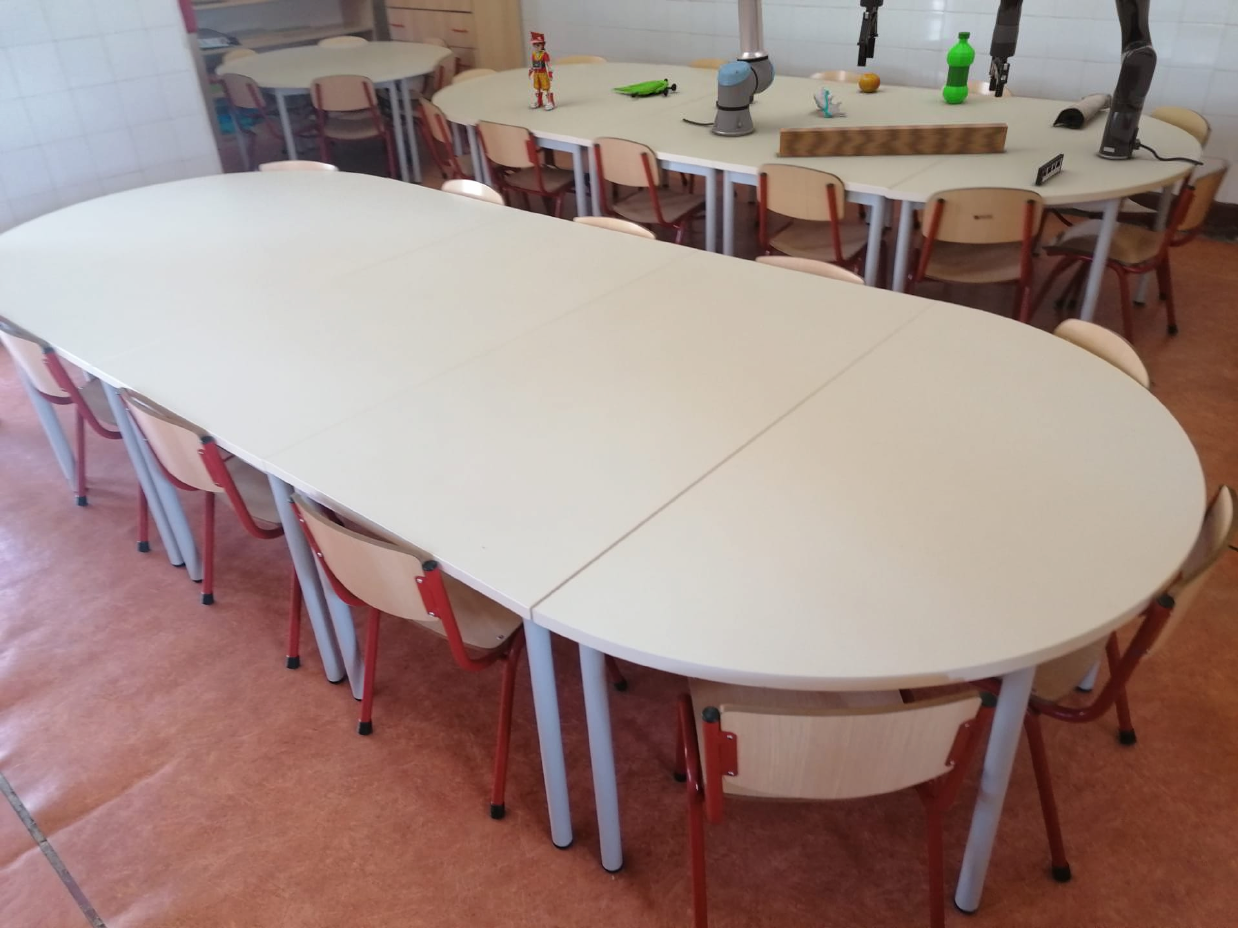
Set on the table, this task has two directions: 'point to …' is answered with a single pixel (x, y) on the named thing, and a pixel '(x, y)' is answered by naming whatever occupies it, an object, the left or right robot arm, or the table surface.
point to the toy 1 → (541, 71)
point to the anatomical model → (827, 103)
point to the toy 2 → (648, 88)
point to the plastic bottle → (958, 69)
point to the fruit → (869, 82)
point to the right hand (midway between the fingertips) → (995, 94)
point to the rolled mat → (1083, 110)
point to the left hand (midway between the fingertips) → (865, 62)
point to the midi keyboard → (1049, 169)
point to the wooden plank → (893, 140)
